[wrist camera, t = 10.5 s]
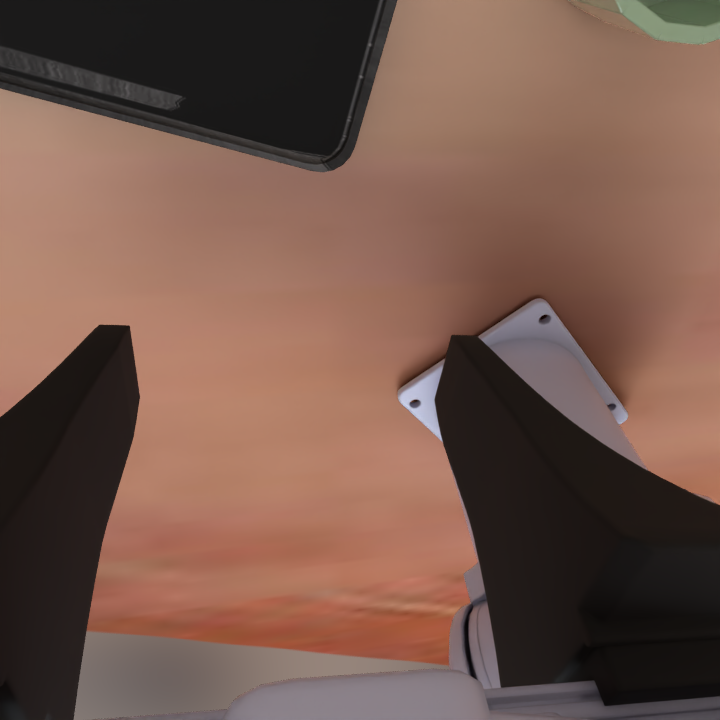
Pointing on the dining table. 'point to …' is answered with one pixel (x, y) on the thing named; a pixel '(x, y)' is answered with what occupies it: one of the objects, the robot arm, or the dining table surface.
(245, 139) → the phone
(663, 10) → the cup
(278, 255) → the dining table surface
